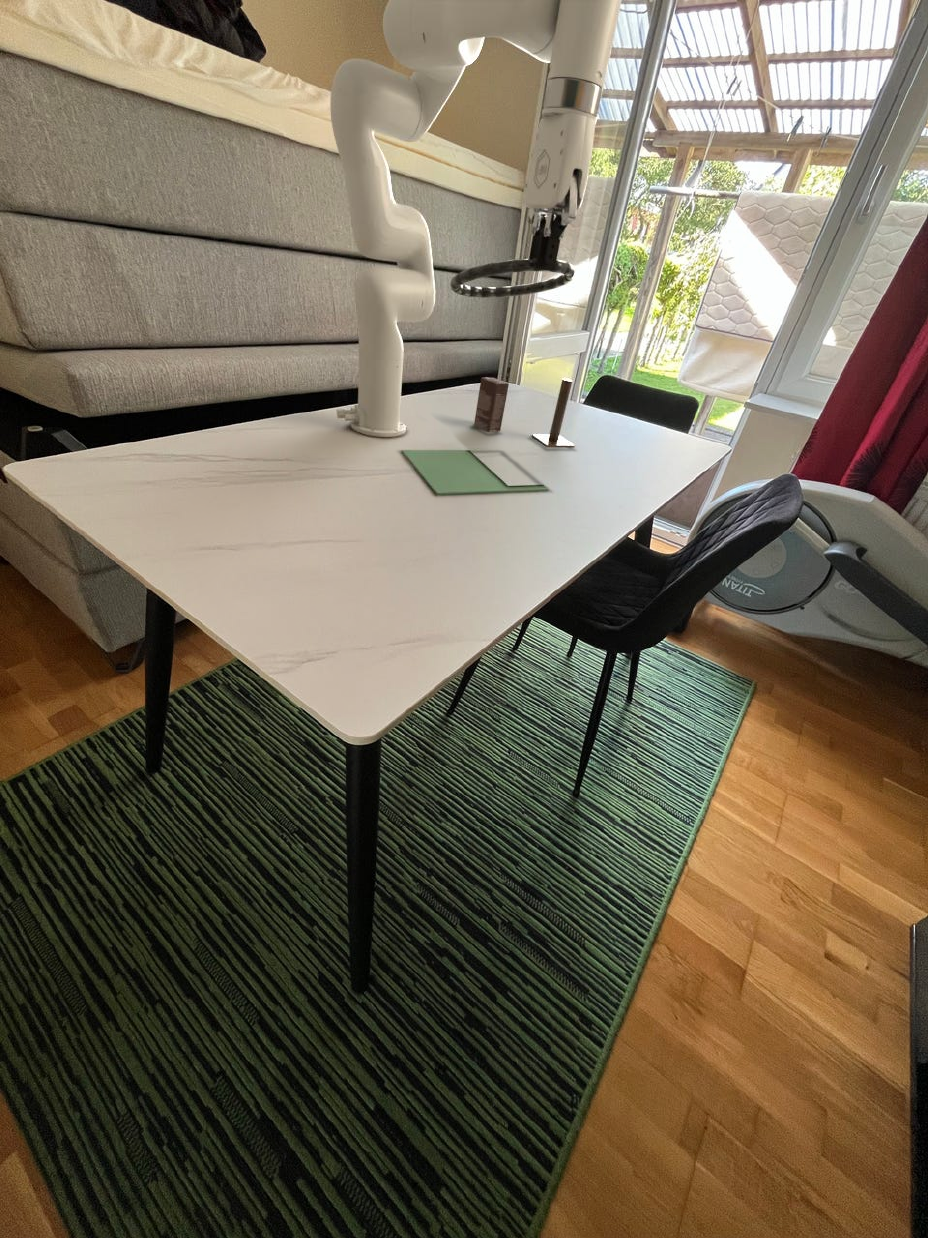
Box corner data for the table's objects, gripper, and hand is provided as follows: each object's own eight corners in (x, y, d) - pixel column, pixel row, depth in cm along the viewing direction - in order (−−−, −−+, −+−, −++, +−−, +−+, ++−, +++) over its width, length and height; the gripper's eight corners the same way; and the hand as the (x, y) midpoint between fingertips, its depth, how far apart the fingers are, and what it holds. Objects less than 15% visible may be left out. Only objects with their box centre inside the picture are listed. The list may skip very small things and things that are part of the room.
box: (500, 433, 131) (509, 383, 124) (487, 435, 128) (496, 383, 121) (485, 426, 134) (493, 376, 127) (472, 427, 132) (479, 376, 125)
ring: (482, 268, 76) (481, 255, 76) (433, 298, 94) (433, 288, 94) (601, 270, 83) (601, 259, 83) (534, 298, 102) (534, 288, 101)
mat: (437, 495, 95) (437, 493, 94) (401, 451, 110) (401, 450, 110) (548, 490, 104) (548, 489, 104) (500, 451, 120) (501, 449, 119)
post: (546, 450, 125) (562, 383, 116) (530, 438, 131) (544, 374, 122) (573, 450, 128) (590, 385, 119) (557, 439, 134) (572, 376, 125)
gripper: (519, 105, 74) (497, 260, 85) (580, 90, 63) (545, 271, 73) (563, 118, 77) (536, 266, 87) (628, 105, 65) (588, 277, 76)
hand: (540, 267), depth 80 cm, fingers closed on ring, 1 cm apart
